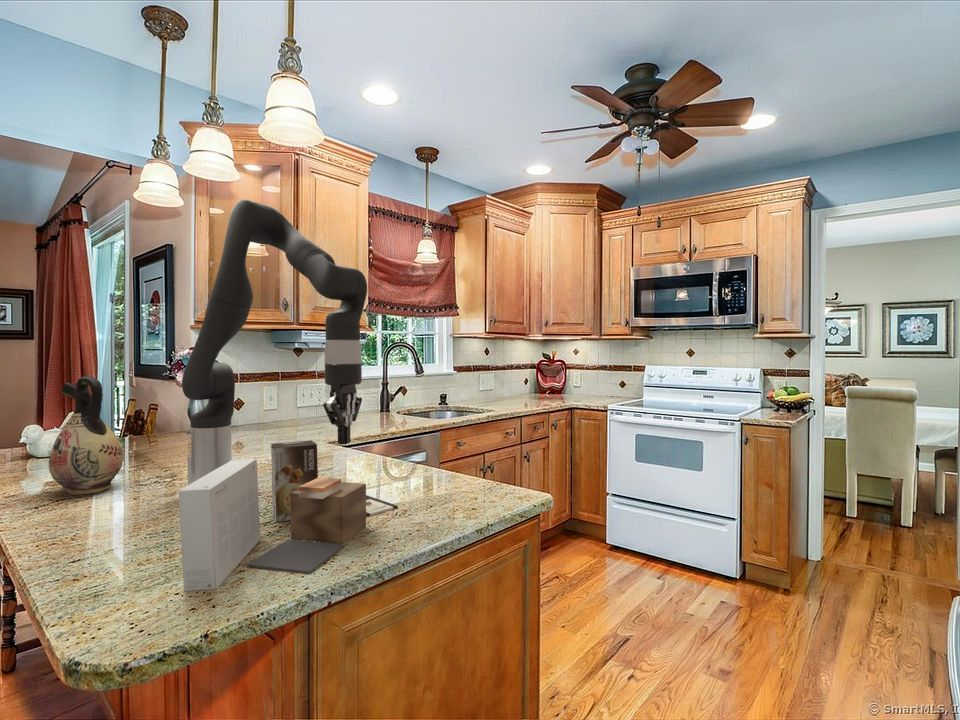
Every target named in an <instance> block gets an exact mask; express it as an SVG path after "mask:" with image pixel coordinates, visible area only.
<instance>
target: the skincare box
mask: <svg viewBox="0 0 960 720" xmlns="http://www.w3.org/2000/svg"><path fill="white" fill-rule="evenodd" d="M257 462H258V461H257V459H254V458H253V459H251V458H250V459H236V460H235V459H234V460H233V459H232V460H231V461H230V462H228V463H226V464H224V465H223V466H221V467H219V468H217V469H215V470H214V471H212V472H210V473H209V474H207V475H205V476H203V477H202V478H200V479H198V480H196V481H195V482H193V483H191V484H189V485H188V484H187V485H186V486H184V487H182V488H181V489H179V490H178V504H179V524H180V525H179V527H180V540H181V541H180V542H181V562H182V564H181V565H182V579H183V581H182V582H183V583H182V584H183V592H195V591H211V590H212V591H213V590H214V591H215V590H217V589H218V588H219V587H220V586H221V585H222V583H224V581H225V580H226V579H227V578H228V577H230V575H231V573H232V572H233V571H234V570H235V569H236V567H237V566H239V564H241V562H242V561H243V560H244V559H245V557H247V555H249V553H250V552H252V550H253V549H254V547H256V545H257V544H258V543H259V542H260V541H261V539H262V536H261V534H262V533H261V522H260V505H259V504H260V502H259V500H260V499H259V482H258V480H259V479H258V463H257Z"/></svg>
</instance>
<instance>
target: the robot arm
mask: <svg viewBox="0 0 960 720" xmlns="http://www.w3.org/2000/svg"><path fill="white" fill-rule="evenodd" d="M223 243H224V244H223V250H222V255H221V258H220V263H219V266H218V270H217V273H216V277H215V281H214V284H213V286H212V288H211V289H212V290H211V293H210V295H209V299H208V301H207V302H208V303H207V305H206V310H205V314H204V318H203V320H202V324H201V326H200V330H199V332H198V337H197V339H196V341H195V344H194V346H193V349H192V351H191V354H190V355H189V358H188V360H187V363H186V365H185V367H184V371H183V374H182V381H181V389H182V392H183V394H184V396H185V397H186V398H187V399H189V400H191V401H192V400H193V401H203V400H204V401H205V400H208V401H207V404H206V405H205V407H204V408H202V409H201V410H199V411H198V412H196V413H194V414H192V415H191V417H190V456H188V457H187V486H188V485H189V484H191V483H193V482H195V481H196V480H198V479H200V478H202V477H203V476H205V475H207V474H209V473H210V472H212V471H214V470H215V469H217V468H219V467H221V466H223V465H224V464H226V463H228V462H230V461H231V460H233V459H232V457H233V456H232V455H233V454H232V452H233V451H232V448H233V447H232V418H233V415H234V411H235V392H236V381H235V380H236V379H235V374H234V371H233V370H234V369H232V367H231V366H230V365H229V364H228V363H225V362H216V360H217V358H218V355H219V354H220V352H221V350H223V348H224V347H225V346H226V345H227V344H228V343H229V342H230V341H231V340H232V339H233V338H234V337H235V336H236V335H237V333H239V332H240V330H241V329H243V327H244V326H245V324H246V323H247V320H248V317H249V315H250V311H251V307H252V305H253V300H254V293H253V288H252V283H251V279H250V277H249V275H248V270H247V266H246V264H247V263H246V261H247V254H248V250H249V249H248V248H249V247H250V243H254V244H260V245H265V246H266V245H267V246H272V247H273V248H277V249H278V250H280V251H282V252H283V253H284V255H285V257H286V260H287V262H288V263H289V264H290V266H291V267H292V268H293V269H295V270H296V271H297V272H299V274H301V275H302V276H304V277H305V278H306V279H308V281H309V282H310V284H311V285H312V287H313V288H314V289H315V291H316V292H317V293H318V294H319V295H321V296H322V297H324V298H326V299H329V300H333V301H334V300H335V301H340V304H339V308H338V310H337V311H336V310H335V311H332V312H330V313H328V314H327V315H326V316H325V345H324V384H325V385H328V386H330V390H329V391H330V392H329V400H328V401H325V402H323V405H322V406H323V408H324V410H325V413H326V415H327V417H328V420H329V423H330V424H331V425H332V426H335V427H337V444H338V445H345V446H346V445H347V444H348V445H349V444H350V443H351V426H352V425H353V422H356V420H357V417H358V416H359V415H358V414H359V411H360V409H361V405H362V402H363V397H361V396H360V397H359V396H357V393H358V392H357V387H356V385H357V386H358V385H361V383H362V382H363V379H362V366H363V365H362V346H361V319H362V315H363V312H364V311H363V310H364V306H365V303H366V299H367V295H368V282H367V279H366V276H365V275H364V273H363V272H362V271H360V270H359V269H357V268H351V267H347V266H340V265H336V262H335V260H334V258H333V256H331V254H330V253H328V252H327V251H325V250H324V249H323V248H321V247H320V246H318V245H316V244H315V243H314V242H312V241H311V240H309V239H308V238H306V236H304V235H303V234H302V233H301V232H300V231H299V230H298V229H297V228H296V227H295V226H294V225H292V223H291V222H290V221H289V220H288V218H287V217H286V216H284V214H282V212H281V211H279V210H278V209H276V208H275V207H273V206H270V205H266V204H263V203H260V202H257V201H253V200H250V199H244V198H243V199H240V200H238V201H237V202H236V203H235V204H234V205H233V208H232V210H231V212H230V215H229V218H228V222H227V227H226V234H225V238H224V242H223Z"/></svg>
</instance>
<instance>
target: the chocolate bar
mask: <svg viewBox="0 0 960 720" xmlns="http://www.w3.org/2000/svg"><path fill="white" fill-rule="evenodd" d="M396 508H397V509H398V508H399V506H398V505H397V504H394V503H391V502H388V501H385V500H382V499H378V498H375V497H373V496H369V495H367V494H366V516H368V517H371V516H373V515H374V514H375V515H377V514H378V513H379V514H382V513H385V511H386V512H389V511H393V510H396ZM392 509H393V510H392ZM388 510H389V511H388ZM381 512H382V513H381ZM379 514H378V515H379ZM370 515H371V516H370Z"/></svg>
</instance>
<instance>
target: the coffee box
mask: <svg viewBox="0 0 960 720" xmlns="http://www.w3.org/2000/svg"><path fill="white" fill-rule="evenodd" d="M270 445H271V446H270V447H271V450H270V451H271V452H270V453H271V491H272V492H271V493H272V494H271V495H272V496H271V499H272V501H271V502H272V516H273V519H274V521H275V523H280V522H281V523H282V522H287V521H291V493H292V492H295V491H297V490H299V486H301V485H303V484H306V483H308V482H310V481H312V480H314V479H317V478H319V468H318V465H319V464H318V463H319V462H318V460H319V459H318V444H317V442H315V441H313V440H301V441H300V440H299V441H287V442H286V441H285V442H276V443H275V442H274V443H271V444H270Z"/></svg>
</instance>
